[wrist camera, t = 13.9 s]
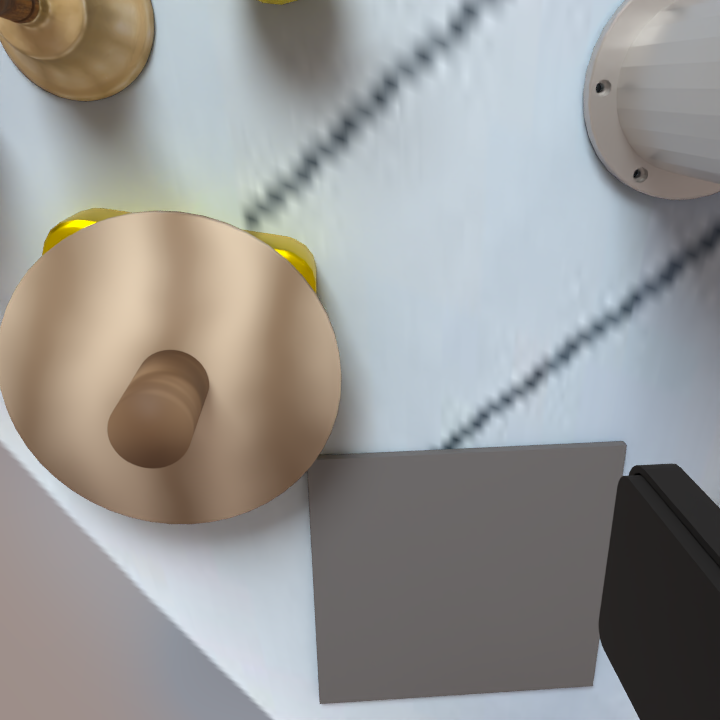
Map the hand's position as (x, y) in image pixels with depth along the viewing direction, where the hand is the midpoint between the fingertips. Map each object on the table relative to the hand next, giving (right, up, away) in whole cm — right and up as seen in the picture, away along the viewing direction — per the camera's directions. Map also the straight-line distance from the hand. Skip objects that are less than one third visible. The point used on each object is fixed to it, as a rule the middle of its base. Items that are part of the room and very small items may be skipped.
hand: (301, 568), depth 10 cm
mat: (+8, -13, +42) cm, 45 cm away
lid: (-10, +2, +30) cm, 31 cm away
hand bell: (-14, +21, +27) cm, 37 cm away
